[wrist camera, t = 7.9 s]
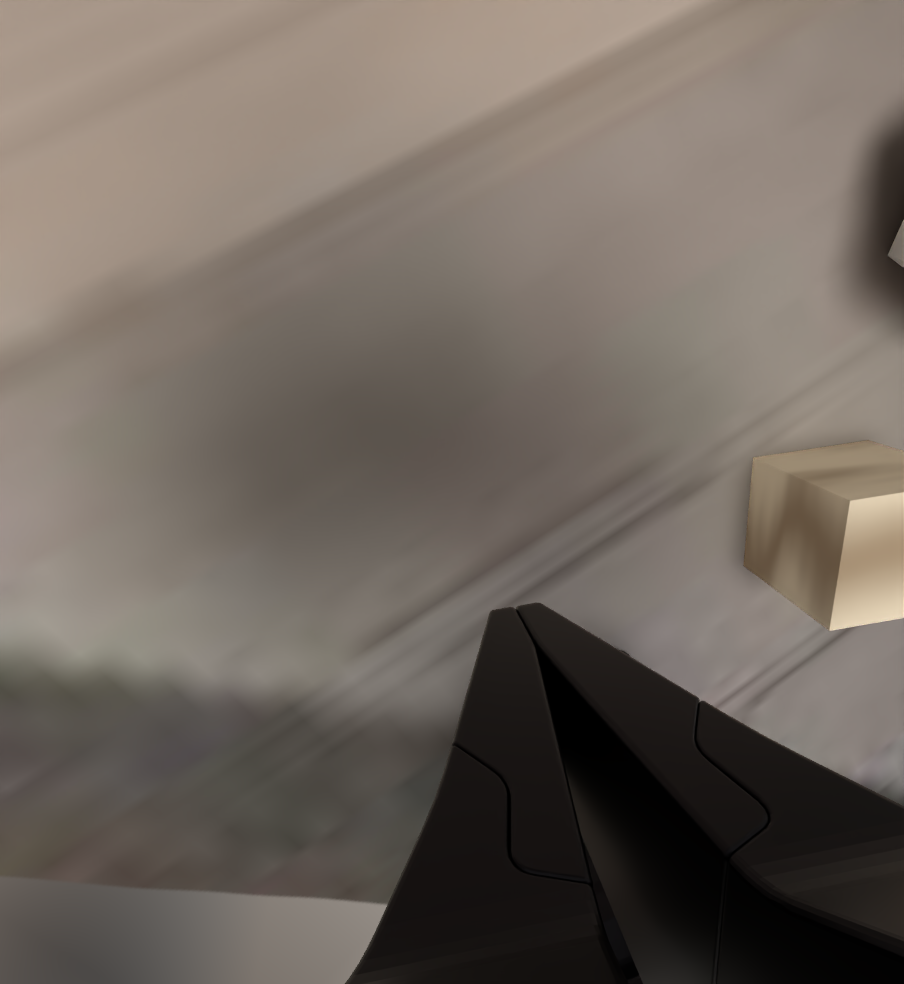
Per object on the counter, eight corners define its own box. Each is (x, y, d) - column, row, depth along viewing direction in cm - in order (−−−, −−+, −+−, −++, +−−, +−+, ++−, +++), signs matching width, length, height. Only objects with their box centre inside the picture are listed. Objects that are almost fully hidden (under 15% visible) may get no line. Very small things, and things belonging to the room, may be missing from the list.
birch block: (848, 547, 24) (959, 607, 20) (742, 564, 24) (829, 630, 19) (866, 439, 22) (992, 477, 18) (752, 456, 22) (850, 500, 17)
